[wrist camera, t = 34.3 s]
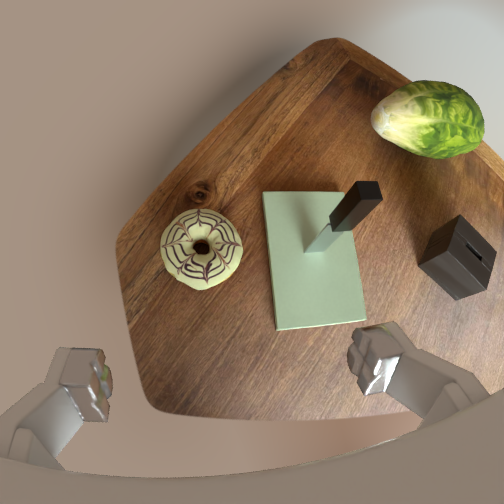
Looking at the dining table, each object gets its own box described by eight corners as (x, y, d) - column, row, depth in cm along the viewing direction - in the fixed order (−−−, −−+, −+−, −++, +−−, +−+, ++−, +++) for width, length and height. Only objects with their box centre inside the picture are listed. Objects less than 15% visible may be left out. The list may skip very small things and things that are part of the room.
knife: (325, 257, 45) (385, 199, 28) (305, 259, 45) (358, 199, 28) (322, 244, 46) (380, 181, 29) (302, 245, 45) (353, 180, 28)
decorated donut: (206, 306, 42) (205, 302, 39) (148, 255, 43) (142, 246, 40) (255, 250, 45) (258, 241, 42) (197, 204, 47) (197, 191, 43)
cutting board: (363, 320, 44) (366, 319, 43) (275, 330, 42) (277, 329, 41) (341, 195, 50) (343, 191, 49) (261, 195, 48) (262, 191, 47)
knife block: (455, 300, 47) (486, 290, 40) (417, 266, 48) (446, 250, 41) (468, 265, 50) (496, 252, 42) (432, 232, 51) (460, 213, 43)
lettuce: (344, 114, 57) (374, 56, 42) (436, 116, 62) (469, 74, 47) (376, 178, 52) (420, 125, 38) (466, 169, 58) (508, 131, 43)
